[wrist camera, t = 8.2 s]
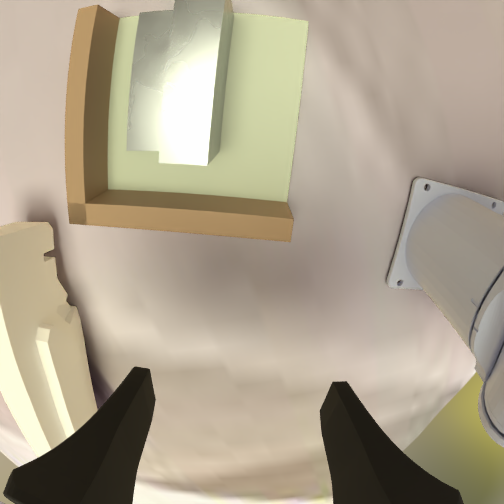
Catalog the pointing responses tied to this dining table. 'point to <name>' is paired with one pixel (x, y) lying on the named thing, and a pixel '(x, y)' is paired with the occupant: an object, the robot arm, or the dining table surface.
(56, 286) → the shelf bracket
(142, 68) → the angle bracket
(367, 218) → the dining table surface
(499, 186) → the dining table surface
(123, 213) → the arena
